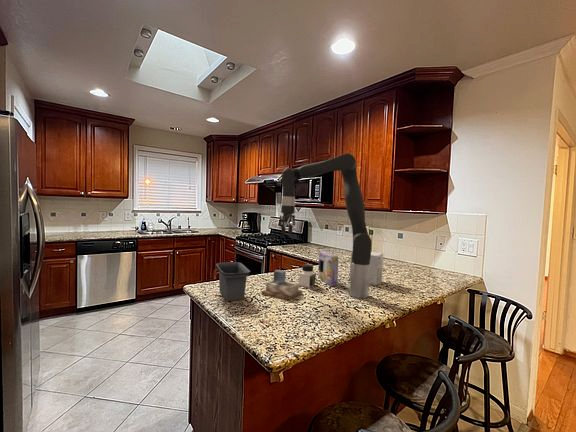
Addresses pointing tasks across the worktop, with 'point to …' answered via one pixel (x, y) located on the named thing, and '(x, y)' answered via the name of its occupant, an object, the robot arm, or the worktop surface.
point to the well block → (282, 290)
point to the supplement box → (374, 268)
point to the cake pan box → (328, 268)
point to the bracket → (279, 277)
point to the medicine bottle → (307, 276)
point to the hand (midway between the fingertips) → (286, 233)
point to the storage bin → (232, 280)
